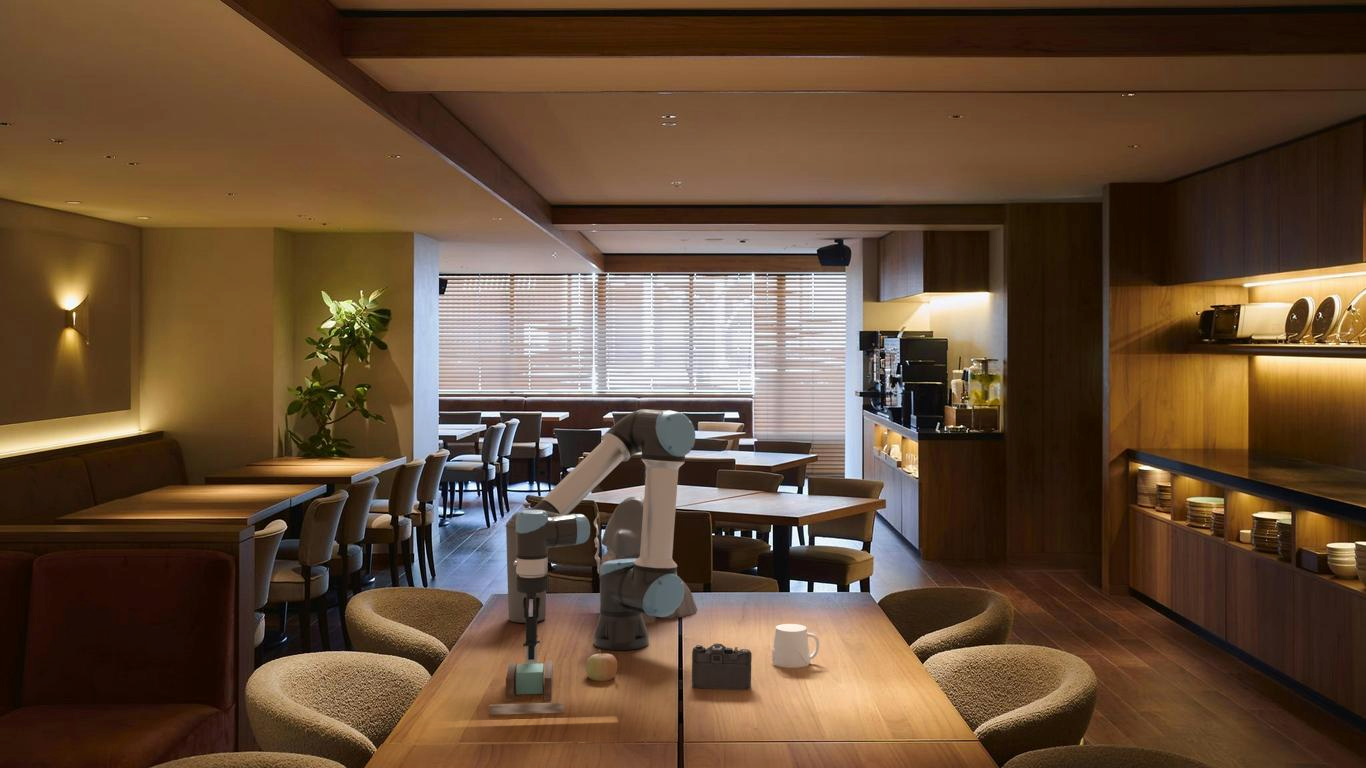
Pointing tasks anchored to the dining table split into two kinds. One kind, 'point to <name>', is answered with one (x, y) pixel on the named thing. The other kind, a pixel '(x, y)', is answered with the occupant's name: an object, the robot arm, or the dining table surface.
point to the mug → (792, 646)
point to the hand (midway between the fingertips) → (531, 671)
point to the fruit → (601, 667)
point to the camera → (721, 667)
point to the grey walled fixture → (527, 707)
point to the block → (530, 678)
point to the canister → (513, 595)
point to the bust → (633, 547)
